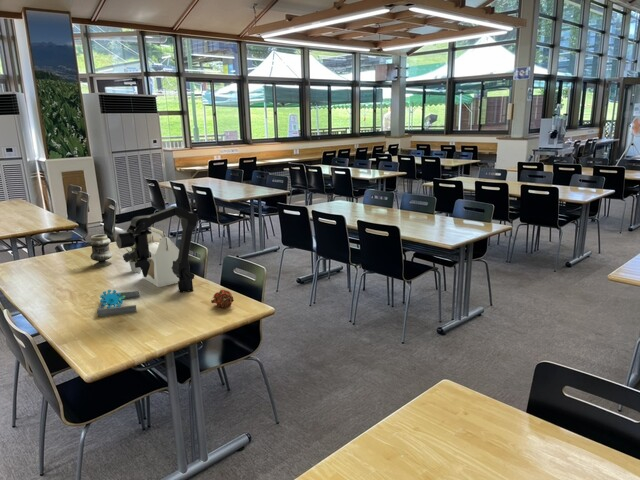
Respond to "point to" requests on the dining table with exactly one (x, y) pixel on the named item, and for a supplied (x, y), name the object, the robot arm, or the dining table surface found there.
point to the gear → (111, 299)
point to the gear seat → (118, 310)
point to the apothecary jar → (100, 250)
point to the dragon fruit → (222, 298)
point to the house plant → (133, 262)
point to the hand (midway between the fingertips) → (145, 276)
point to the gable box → (161, 259)
